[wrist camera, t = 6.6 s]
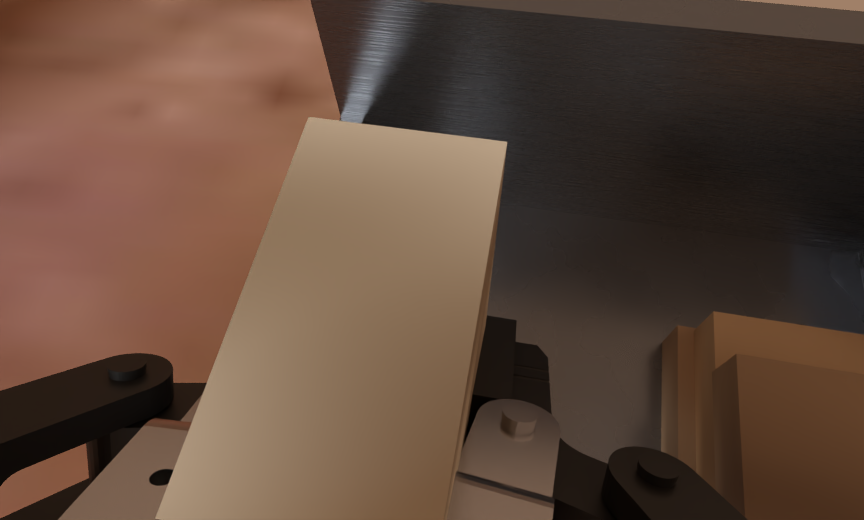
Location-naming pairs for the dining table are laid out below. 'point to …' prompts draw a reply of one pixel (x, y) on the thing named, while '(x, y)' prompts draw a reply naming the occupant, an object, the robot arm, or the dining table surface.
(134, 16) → the dining table surface
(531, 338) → the offcut rack
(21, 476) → the dining table surface
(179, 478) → the birch board
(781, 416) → the offcut stack
